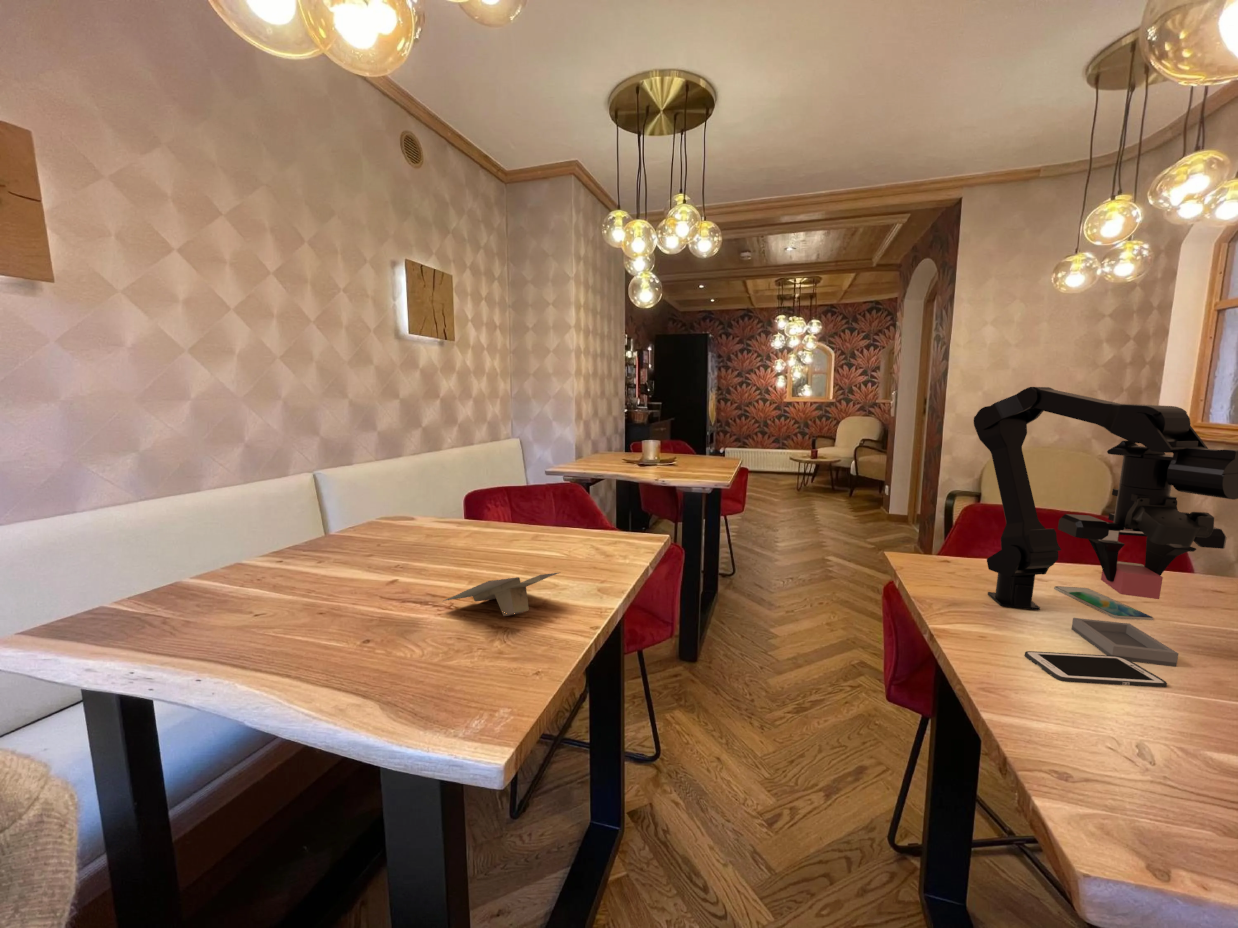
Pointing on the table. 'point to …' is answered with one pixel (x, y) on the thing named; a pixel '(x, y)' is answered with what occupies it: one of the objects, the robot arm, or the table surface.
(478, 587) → the grey winged bracket
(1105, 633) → the pocket tray
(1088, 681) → the cell phone
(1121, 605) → the smartphone
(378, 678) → the table surface
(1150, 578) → the card box
